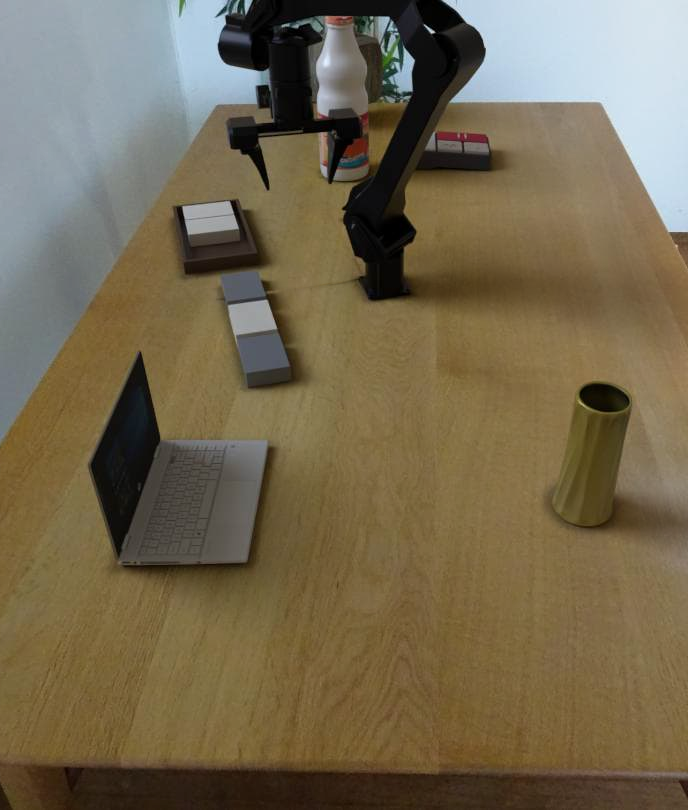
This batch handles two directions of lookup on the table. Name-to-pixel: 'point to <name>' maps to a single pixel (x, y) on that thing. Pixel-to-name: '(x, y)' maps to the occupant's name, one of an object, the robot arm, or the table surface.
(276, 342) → the gray flat block
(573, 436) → the vase
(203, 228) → the white notebook
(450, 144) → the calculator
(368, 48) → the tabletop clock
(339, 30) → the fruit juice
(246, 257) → the book tray
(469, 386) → the table surface
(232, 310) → the white flat block
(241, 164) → the table surface
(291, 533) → the table surface
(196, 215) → the white notebook
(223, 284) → the grey rectangular block
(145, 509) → the laptop
